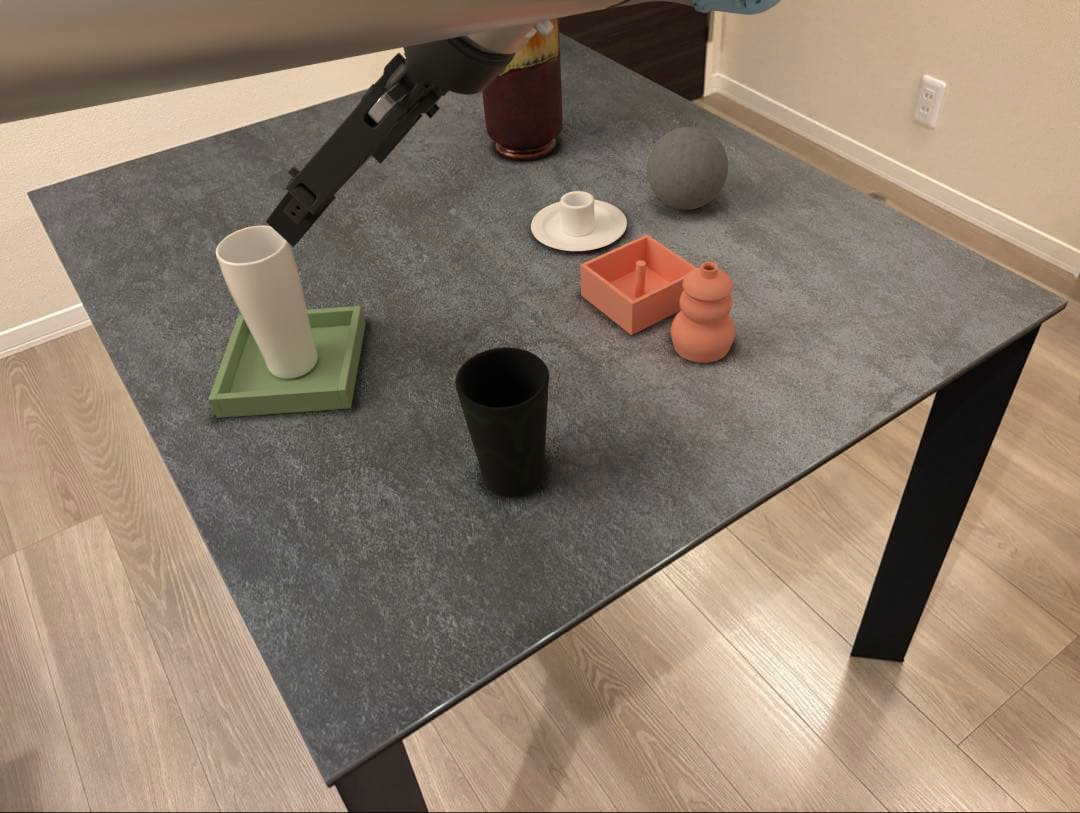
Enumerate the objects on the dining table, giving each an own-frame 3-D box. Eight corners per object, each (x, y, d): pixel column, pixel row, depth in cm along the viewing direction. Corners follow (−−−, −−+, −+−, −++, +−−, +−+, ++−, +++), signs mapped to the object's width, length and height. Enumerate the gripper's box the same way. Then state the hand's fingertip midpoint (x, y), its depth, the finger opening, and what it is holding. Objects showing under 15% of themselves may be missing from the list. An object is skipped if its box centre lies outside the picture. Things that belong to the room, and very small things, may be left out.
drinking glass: (310, 335, 91) (271, 216, 80) (337, 367, 87) (299, 246, 76) (252, 361, 88) (204, 241, 78) (276, 395, 84) (229, 274, 74)
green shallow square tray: (216, 418, 83) (207, 399, 81) (245, 332, 93) (238, 314, 91) (351, 408, 83) (345, 389, 81) (365, 323, 93) (360, 305, 91)
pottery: (581, 295, 94) (579, 220, 87) (645, 264, 98) (648, 190, 91) (687, 380, 83) (694, 301, 76) (756, 342, 87) (768, 264, 80)
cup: (568, 456, 77) (564, 359, 68) (534, 517, 72) (524, 420, 63) (495, 434, 79) (482, 338, 71) (456, 491, 74) (437, 395, 66)
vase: (477, 161, 118) (453, -38, 100) (502, 126, 126) (484, -65, 107) (551, 168, 115) (540, -35, 97) (572, 132, 123) (566, -63, 105)
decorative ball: (738, 213, 104) (748, 138, 97) (668, 232, 102) (672, 158, 95) (699, 177, 111) (705, 106, 104) (632, 195, 109) (634, 123, 102)
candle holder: (572, 194, 110) (570, 164, 107) (645, 222, 104) (647, 192, 101) (511, 235, 104) (508, 204, 101) (586, 267, 98) (586, 236, 95)
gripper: (429, 142, 46) (278, 309, 61) (580, -8, 62) (431, 152, 77) (325, 35, 44) (195, 235, 59) (509, -91, 60) (370, 90, 75)
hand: (329, 188), depth 68 cm, fingers open, 13 cm apart
